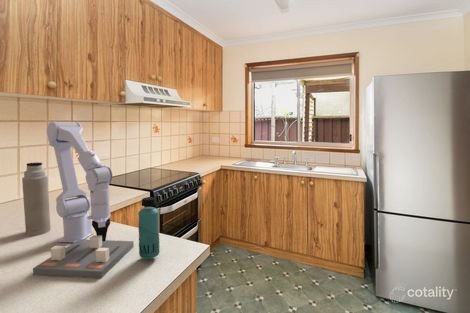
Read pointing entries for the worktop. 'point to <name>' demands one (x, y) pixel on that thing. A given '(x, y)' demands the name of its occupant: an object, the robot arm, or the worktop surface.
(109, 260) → the switch panel
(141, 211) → the beverage bottle
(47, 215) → the thermos bottle
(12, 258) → the worktop surface
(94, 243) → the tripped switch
